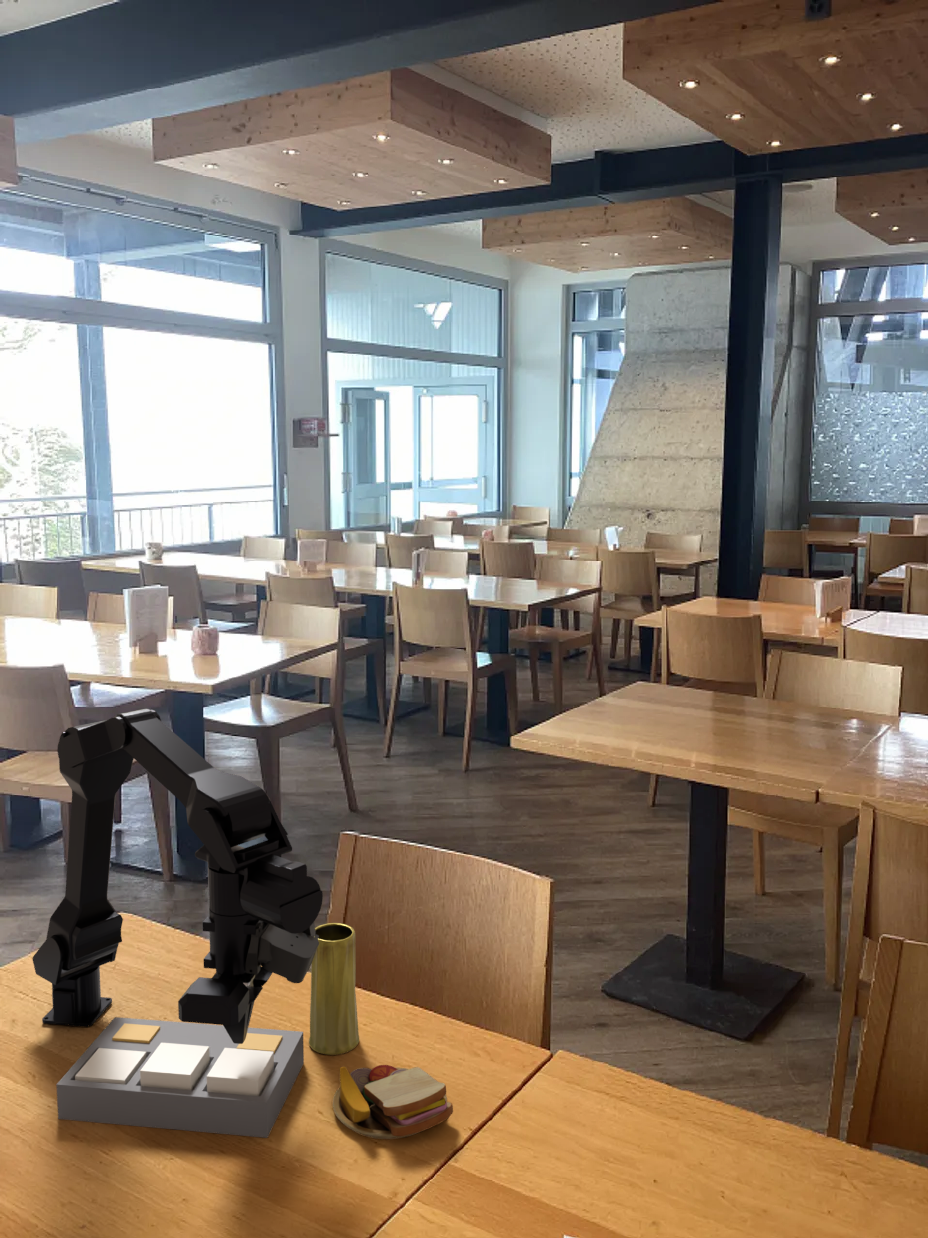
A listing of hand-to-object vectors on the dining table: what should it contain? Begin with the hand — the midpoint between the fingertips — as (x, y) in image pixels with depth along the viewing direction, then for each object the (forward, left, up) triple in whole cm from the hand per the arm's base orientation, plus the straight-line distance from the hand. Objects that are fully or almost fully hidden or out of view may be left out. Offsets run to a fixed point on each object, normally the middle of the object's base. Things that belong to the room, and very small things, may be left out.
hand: (239, 1042), depth 115 cm
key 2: (0, 0, -5) cm, 5 cm away
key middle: (0, -7, -5) cm, 9 cm away
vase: (-15, +7, -8) cm, 18 cm away
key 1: (0, -15, -6) cm, 16 cm away
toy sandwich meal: (-3, +17, -9) cm, 19 cm away
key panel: (-3, -7, -8) cm, 11 cm away
